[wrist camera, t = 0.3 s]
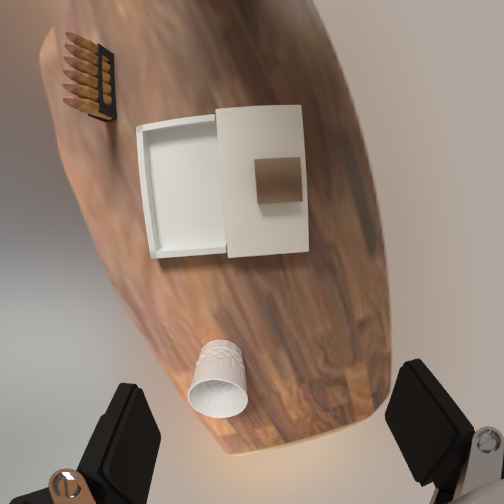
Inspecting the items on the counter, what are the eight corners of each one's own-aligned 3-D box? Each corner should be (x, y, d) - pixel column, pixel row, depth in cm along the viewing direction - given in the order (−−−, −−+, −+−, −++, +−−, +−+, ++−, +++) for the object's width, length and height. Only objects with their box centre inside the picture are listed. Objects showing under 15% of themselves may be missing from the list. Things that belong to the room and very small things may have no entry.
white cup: (218, 326, 41) (213, 369, 31) (256, 354, 43) (260, 399, 33) (186, 355, 42) (175, 399, 33) (224, 381, 44) (221, 425, 35)
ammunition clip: (117, 118, 32) (70, 103, 20) (105, 122, 32) (56, 110, 20) (113, 53, 29) (73, 22, 17) (102, 57, 29) (60, 29, 17)
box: (142, 128, 33) (136, 126, 30) (216, 117, 33) (214, 114, 30) (156, 253, 37) (151, 258, 35) (227, 247, 38) (226, 253, 35)
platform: (217, 113, 33) (215, 109, 30) (296, 109, 33) (301, 104, 30) (229, 251, 38) (228, 257, 35) (303, 245, 38) (308, 251, 35)
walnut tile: (254, 159, 32) (254, 159, 30) (296, 157, 32) (300, 157, 30) (257, 202, 33) (258, 204, 31) (299, 199, 33) (302, 201, 31)
